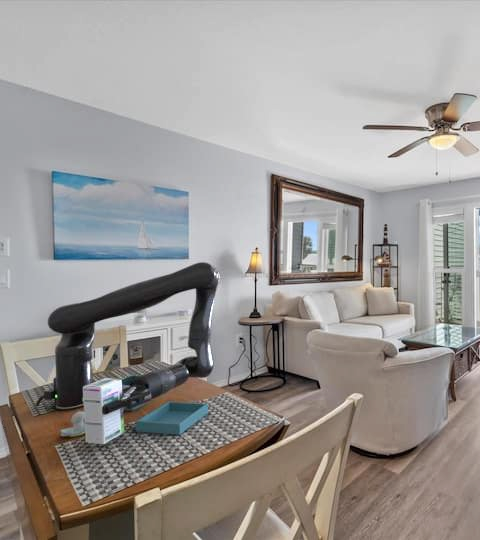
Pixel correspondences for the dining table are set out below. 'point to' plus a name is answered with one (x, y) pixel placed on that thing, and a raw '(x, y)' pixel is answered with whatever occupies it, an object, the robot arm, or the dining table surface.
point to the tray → (172, 418)
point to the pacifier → (75, 426)
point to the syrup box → (97, 423)
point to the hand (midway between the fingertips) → (94, 408)
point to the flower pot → (127, 382)
